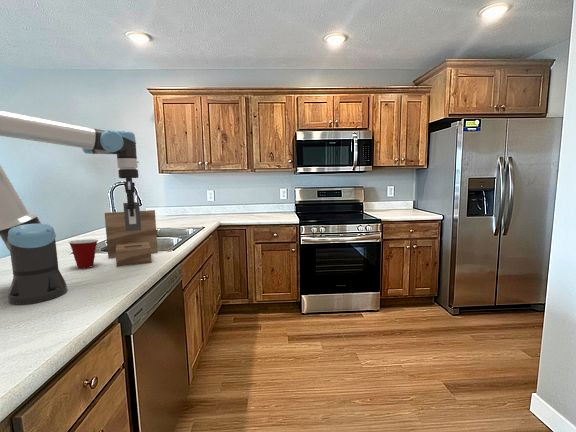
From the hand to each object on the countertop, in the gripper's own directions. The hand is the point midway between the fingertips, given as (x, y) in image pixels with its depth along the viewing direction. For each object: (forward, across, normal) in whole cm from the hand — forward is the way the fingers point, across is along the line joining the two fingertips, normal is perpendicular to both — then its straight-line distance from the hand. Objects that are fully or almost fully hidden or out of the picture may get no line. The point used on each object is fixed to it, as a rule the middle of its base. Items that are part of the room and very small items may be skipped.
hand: (132, 223), depth 134 cm
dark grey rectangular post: (+3, 0, 0) cm, 3 cm away
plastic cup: (+19, +8, +20) cm, 29 cm away
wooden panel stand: (+19, +12, +1) cm, 22 cm away
